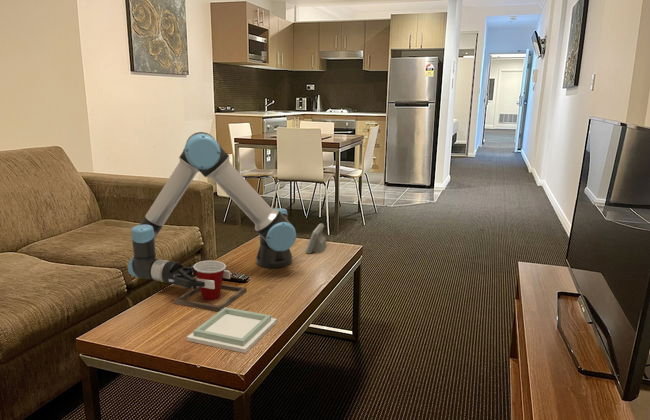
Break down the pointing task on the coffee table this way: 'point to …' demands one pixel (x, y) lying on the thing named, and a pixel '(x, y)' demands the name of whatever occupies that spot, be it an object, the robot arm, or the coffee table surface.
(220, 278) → the plastic cup
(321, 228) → the grey irregular lump
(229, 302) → the holder frame
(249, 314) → the base plate
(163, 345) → the coffee table surface
